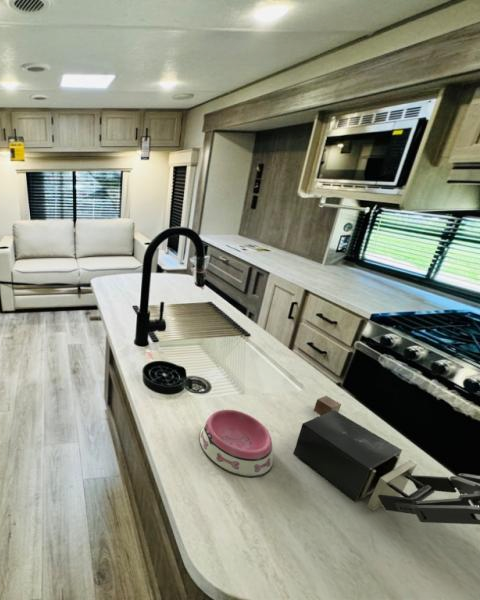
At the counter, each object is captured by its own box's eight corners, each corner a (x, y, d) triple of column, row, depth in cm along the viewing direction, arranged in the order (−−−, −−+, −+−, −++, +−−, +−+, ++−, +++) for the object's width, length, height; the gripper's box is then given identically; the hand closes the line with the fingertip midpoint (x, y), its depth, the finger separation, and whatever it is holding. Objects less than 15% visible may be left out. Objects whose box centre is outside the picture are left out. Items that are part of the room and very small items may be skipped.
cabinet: (386, 482, 76) (402, 449, 72) (354, 502, 71) (369, 468, 67) (323, 439, 88) (333, 409, 84) (293, 454, 84) (302, 423, 80)
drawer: (428, 509, 69) (444, 480, 65) (398, 530, 65) (414, 501, 61) (339, 448, 84) (348, 423, 81) (310, 462, 80) (319, 436, 77)
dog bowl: (287, 480, 77) (293, 459, 74) (209, 474, 78) (213, 454, 76) (255, 425, 94) (259, 406, 91) (192, 421, 96) (194, 403, 93)
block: (337, 415, 97) (341, 404, 95) (328, 419, 95) (332, 407, 94) (322, 406, 101) (326, 395, 99) (313, 410, 99) (317, 399, 98)
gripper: (543, 569, 44) (377, 533, 63) (602, 505, 52) (439, 491, 71) (503, 509, 47) (355, 492, 66) (565, 457, 55) (417, 456, 74)
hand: (398, 491), depth 68 cm, fingers closed on drawer, 11 cm apart
